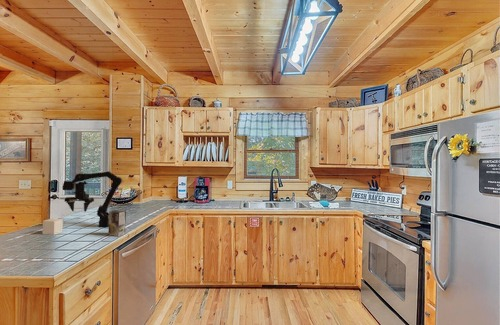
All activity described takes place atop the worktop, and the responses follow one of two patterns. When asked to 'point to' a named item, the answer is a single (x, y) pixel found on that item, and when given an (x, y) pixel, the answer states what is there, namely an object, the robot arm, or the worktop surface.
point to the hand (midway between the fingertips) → (79, 211)
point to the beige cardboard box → (52, 226)
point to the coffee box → (117, 222)
